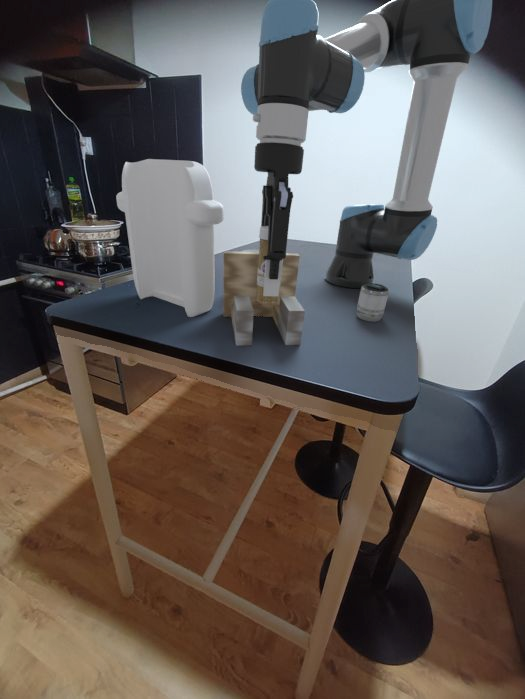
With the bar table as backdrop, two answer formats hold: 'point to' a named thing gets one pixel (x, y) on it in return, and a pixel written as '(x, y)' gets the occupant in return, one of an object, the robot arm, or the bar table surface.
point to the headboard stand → (243, 294)
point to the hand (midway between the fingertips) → (268, 290)
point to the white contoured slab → (171, 231)
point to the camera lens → (372, 302)
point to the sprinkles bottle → (261, 270)
